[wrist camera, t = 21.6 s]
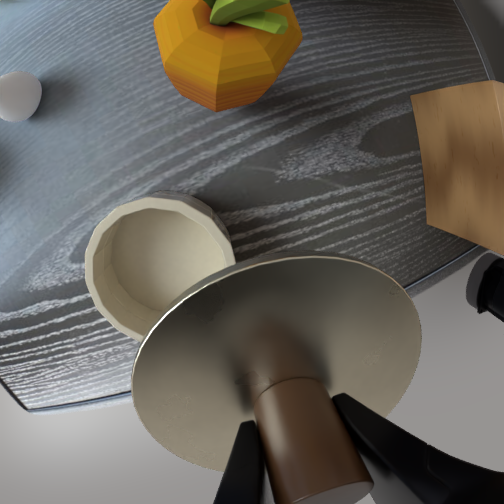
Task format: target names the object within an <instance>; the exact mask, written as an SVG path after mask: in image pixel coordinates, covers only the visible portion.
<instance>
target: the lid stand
mask: <svg viewBox="0 0 504 504" xmlns="http://www.w3.org/2000/svg"><path fill="white" fill-rule="evenodd" d="M410 98H411V102H412V107H413V112H414V117H415V122H416V127H417V133H418V139H419V145H420V152H421V159H422V167H423V176H424V186H425V199H426V217H427V224H428V225H431V226H433V227H436V228H439V229H441V230H444V231H446V232H449V233H452V234H454V235H457V236H459V237H462V238H464V239H466V240H469V241H471V242H474V243H476V244H478V245H481V246H483V247H485V248H488V249H490V250H492V251H494V252H497V253H499V254H501V255H503V256H504V84H503V83H501V82H497V81H494V80H489V81H482V82H475V83H469V84H463V85H458V86H452V87H447V88H442V89H437V90H432V91H428V92H423V93H419V94H415V95H411V96H410Z"/></svg>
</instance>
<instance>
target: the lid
mask: <svg viewBox="0 0 504 504" xmlns="http://www.w3.org/2000/svg"><path fill="white" fill-rule="evenodd" d="M421 341H422V336H421V325H420V320H419V316H418V313H417V310H416V308H415V306H414V304H413V301H412V299H411V298H410V297H409V295H408V294H407V292H406V291H405V290H404V288H403V287H402V286H401V285H400V284H399V283H397V282H396V281H395V280H394V279H393V278H392V277H391V276H389V275H388V274H386V273H385V272H383V271H382V270H380V269H379V268H377V267H375V266H374V265H372V264H370V263H368V262H366V261H363V260H361V259H358V258H355V257H353V256H349V255H344V254H340V253H335V252H328V251H314V250H303V251H288V252H280V253H274V254H269V255H264V256H259V257H255V258H252V259H249V260H246V261H243V262H240V263H237V264H233V265H231V266H229V267H226V268H224V269H222V270H220V271H218V272H216V273H214V274H211V275H209V276H207V277H206V278H204V279H202V280H201V281H199V282H198V283H196V284H194V285H193V286H191V287H190V288H188V289H186V290H185V291H184V292H183V293H182V294H180V295H179V296H178V297H177V298H176V299H174V300H173V301H172V302H171V303H170V304H168V305H167V306H166V308H165V309H164V310H163V311H162V312H161V313H160V314H159V315H158V317H157V318H156V319H155V320H154V321H153V323H152V324H151V326H150V327H149V329H148V330H147V332H146V334H145V335H144V337H143V339H142V341H141V344H140V346H139V349H138V351H137V354H136V357H135V360H134V365H133V370H132V375H131V393H132V398H133V403H134V407H135V409H136V411H137V414H138V416H139V418H140V420H141V422H142V423H143V425H144V426H145V428H146V430H147V431H148V432H149V433H150V434H151V435H152V437H153V438H154V439H155V440H156V441H157V442H159V443H160V444H161V445H162V446H163V447H165V448H166V449H167V450H169V451H170V452H172V453H173V454H175V455H176V456H178V457H180V458H182V459H184V460H186V461H188V462H191V463H193V464H196V465H199V466H201V467H204V468H208V469H212V470H216V471H222V472H224V471H225V468H226V465H227V462H228V459H229V456H230V453H231V450H232V447H233V444H234V441H235V438H236V435H237V432H238V429H239V426H240V423H241V422H244V421H248V420H254V421H255V423H256V426H257V430H258V434H259V439H260V443H261V448H262V452H263V457H264V461H265V465H266V470H267V474H268V478H269V482H270V487H271V491H272V495H273V499H274V503H275V504H354V503H356V502H357V501H359V500H361V499H362V498H363V497H365V496H366V495H367V494H368V493H369V492H370V491H371V490H372V489H373V487H374V481H373V479H372V477H371V475H370V473H369V471H368V469H367V467H366V465H365V463H364V461H363V459H362V457H361V455H360V453H359V451H358V449H357V447H356V445H355V443H354V441H353V440H352V438H351V436H350V434H349V432H348V430H347V428H346V426H345V424H344V422H343V420H342V418H341V416H340V414H339V412H338V410H337V408H336V406H335V404H334V402H333V400H332V397H333V396H334V395H337V394H340V393H346V394H348V395H349V396H351V397H352V398H354V399H356V400H357V401H359V402H360V403H362V404H363V405H365V406H366V407H368V408H369V409H371V410H373V411H374V412H376V413H377V414H379V415H381V416H382V417H384V418H386V417H387V415H388V414H389V413H390V412H391V411H392V409H393V408H394V407H395V406H396V405H397V404H398V402H399V401H400V399H401V398H402V396H403V395H404V393H405V392H406V390H407V388H408V386H409V384H410V382H411V380H412V378H413V376H414V373H415V371H416V368H417V365H418V361H419V357H420V352H421Z"/></svg>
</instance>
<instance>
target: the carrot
mask: <svg viewBox="0 0 504 504" xmlns="http://www.w3.org/2000/svg"><path fill="white" fill-rule="evenodd" d="M289 1H290V0H170V1H169V2H168V3H167V4H166V6H165V7H164V8H163V9H162V10H161V12H160V13H159V14H158V15H157V16H156V18H155V19H154V23H153V25H154V29H155V34H156V38H157V42H158V46H159V50H160V54H161V58H162V62H163V66H164V70H165V73H166V74H167V76H168V77H169V79H170V81H171V82H172V84H173V85H174V87H175V88H176V89H177V90H178V92H179V93H180V94H181V95H182V96H184V97H186V98H188V99H190V100H192V101H194V102H196V103H199V104H201V105H203V106H205V107H207V108H209V109H211V110H213V111H214V112H219V111H223V110H227V109H231V108H235V107H239V106H243V105H247V104H250V103H254V102H255V101H256V100H258V99H259V98H260V97H261V96H262V95H263V94H264V93H265V92H266V91H267V90H268V88H269V87H270V86H271V85H272V84H273V83H274V81H275V80H276V78H277V77H278V75H279V74H280V72H281V71H282V69H283V68H284V66H285V65H286V63H287V62H288V61H289V59H290V58H291V56H292V55H293V53H294V52H295V50H296V49H297V48H298V46H299V45H300V43H301V41H302V32H301V29H300V27H299V24H298V22H297V19H296V17H295V14H294V12H293V9H292V7H291V4H290V2H289Z"/></svg>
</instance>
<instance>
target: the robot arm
mask: <svg viewBox="0 0 504 504" xmlns="http://www.w3.org/2000/svg"><path fill="white" fill-rule="evenodd" d="M486 310H487V311H488V312H490V313H491V314H492V315H494V316H496V317H497V318H498V319H500V320H501V321H502V322H504V260H503V261H501V262H500V263H498V264H496V265H494V266H492V267H490V268H488V269H487V270H485V271H484V273H483V279H482V286H481V293H480V299H479V305H478V310H477V313H479V314H481V313H483V312H485V311H486ZM332 400H333V402H334V404H335V406H336V408H337V410H338V412H339V414H340V416H341V418H342V420H343V422H344V424H345V426H346V428H347V430H348V432H349V434H350V436H351V438H352V440H353V441H354V443H355V445H356V447H357V449H358V451H359V453H360V455H361V457H362V459H363V461H364V463H365V465H366V467H367V469H368V471H369V473H370V475H371V477H372V479H373V481H374V487H373V489H372V490H371V491H370V492H369V493H370V494H371V496H372V498H373V500H374V501H375V503H376V504H504V472H497V471H493V470H490V469H487V468H483V467H480V466H477V465H474V464H471V463H469V462H466V461H463V460H460V459H458V458H455V457H453V456H450V455H448V454H446V453H444V452H442V451H440V450H438V449H436V448H435V447H433V446H431V445H427V443H426V442H424V441H422V440H420V439H419V438H417V437H415V436H413V435H412V434H410V433H409V432H407V431H405V430H404V429H402V428H400V427H399V426H397V425H395V424H394V423H392V422H390V421H389V420H387V419H385V418H384V417H382V416H381V415H379V414H377V413H376V412H374V411H373V410H371V409H369V408H368V407H366V406H365V405H363V404H362V403H360V402H359V401H357V400H356V399H354V398H352V397H351V396H349V395H348V394H346V393H340V394H337V395H334V396H333V397H332ZM213 504H275V503H274V499H273V495H272V491H271V487H270V482H269V478H268V474H267V470H266V465H265V461H264V457H263V452H262V448H261V443H260V439H259V434H258V430H257V426H256V423H255V421H254V420H248V421H244V422H241V423H240V426H239V429H238V432H237V435H236V438H235V441H234V444H233V447H232V450H231V453H230V456H229V459H228V462H227V465H226V468H225V471H224V474H223V477H222V480H221V483H220V486H219V488H218V491H217V494H216V497H215V500H214V503H213Z"/></svg>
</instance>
